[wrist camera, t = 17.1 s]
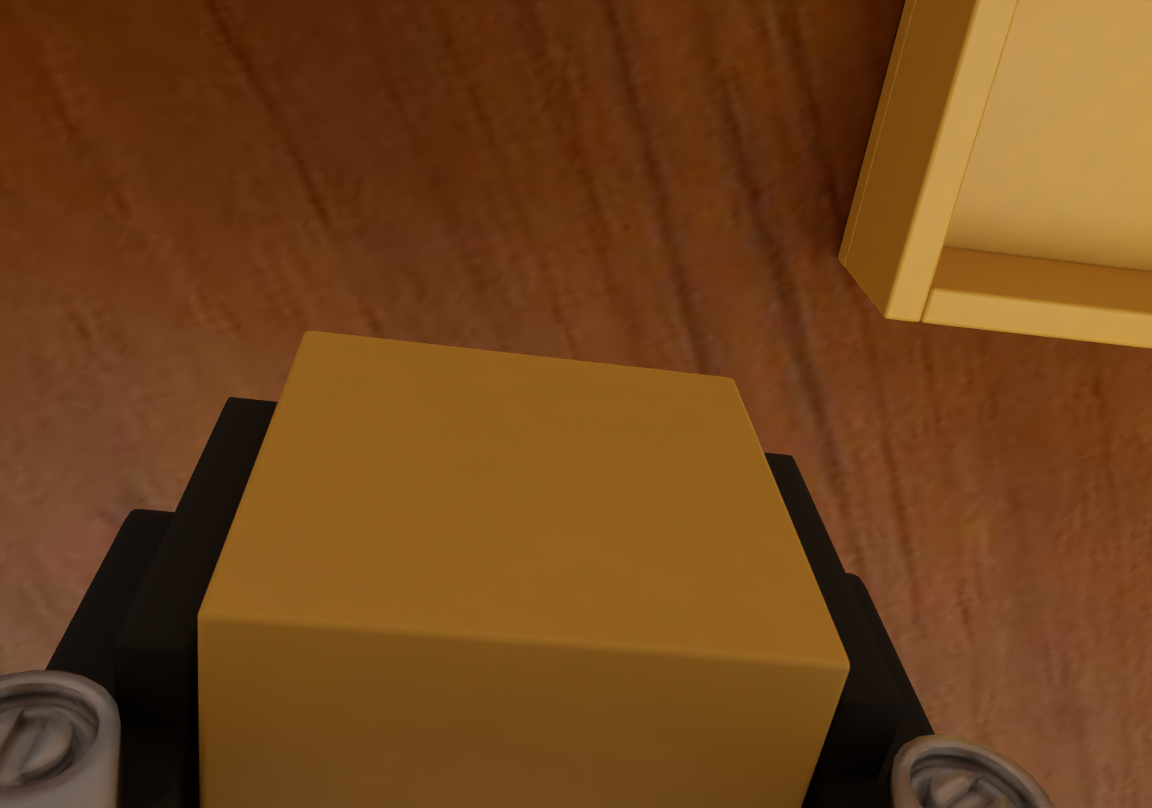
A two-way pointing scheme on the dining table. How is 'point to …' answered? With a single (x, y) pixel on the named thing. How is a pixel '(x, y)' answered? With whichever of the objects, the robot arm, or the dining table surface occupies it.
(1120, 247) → the mustard bin
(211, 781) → the mustard block
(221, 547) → the robot arm
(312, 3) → the dining table surface
